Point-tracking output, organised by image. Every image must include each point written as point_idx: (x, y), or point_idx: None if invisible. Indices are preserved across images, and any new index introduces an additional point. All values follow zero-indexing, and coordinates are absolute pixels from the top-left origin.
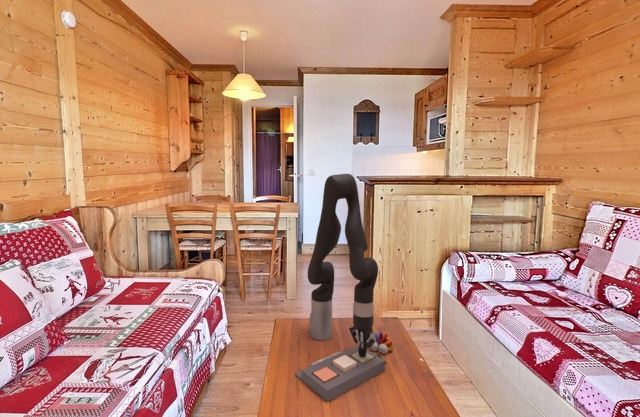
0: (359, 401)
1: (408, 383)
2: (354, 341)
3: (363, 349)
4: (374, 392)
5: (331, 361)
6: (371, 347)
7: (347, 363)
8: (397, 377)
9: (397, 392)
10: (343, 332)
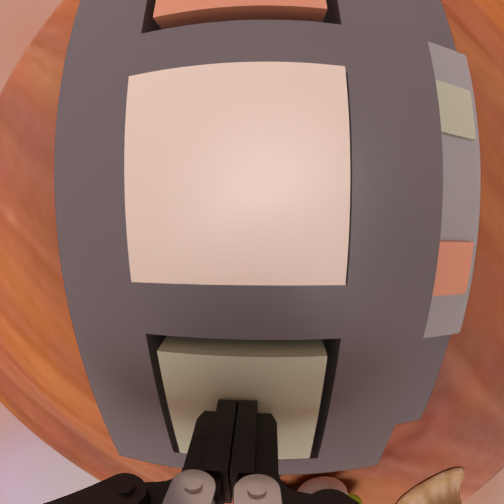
0: (30, 107)
1: (36, 387)
2: (346, 498)
3: (189, 467)
4: (29, 222)
5: (385, 112)
6: (322, 487)
7: (168, 163)
8: (76, 399)
9: (4, 309)
10: (494, 434)
